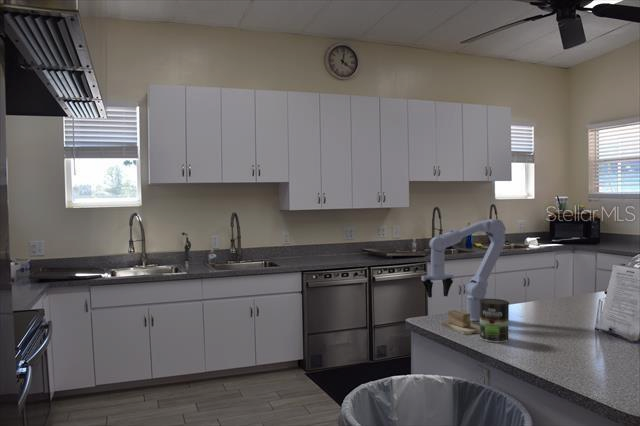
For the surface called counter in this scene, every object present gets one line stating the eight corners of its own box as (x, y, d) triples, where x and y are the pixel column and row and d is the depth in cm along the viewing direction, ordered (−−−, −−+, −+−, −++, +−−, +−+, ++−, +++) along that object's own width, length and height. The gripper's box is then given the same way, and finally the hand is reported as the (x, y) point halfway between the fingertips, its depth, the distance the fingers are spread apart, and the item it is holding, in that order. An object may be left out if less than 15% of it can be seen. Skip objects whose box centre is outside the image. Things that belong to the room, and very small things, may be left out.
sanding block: (455, 322, 208) (455, 310, 208) (470, 326, 202) (470, 313, 201) (448, 323, 206) (448, 311, 206) (462, 327, 200) (462, 315, 199)
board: (467, 322, 213) (467, 319, 213) (490, 332, 197) (491, 328, 197) (442, 324, 209) (442, 321, 209) (463, 334, 194) (463, 331, 194)
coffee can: (506, 344, 180) (506, 304, 180) (477, 340, 185) (477, 302, 185) (510, 337, 189) (510, 299, 189) (482, 334, 194) (482, 297, 194)
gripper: (447, 263, 224) (447, 294, 224) (418, 264, 220) (418, 296, 220) (456, 265, 217) (456, 296, 218) (425, 266, 213) (425, 298, 213)
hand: (437, 296), depth 218 cm, fingers open, 7 cm apart
